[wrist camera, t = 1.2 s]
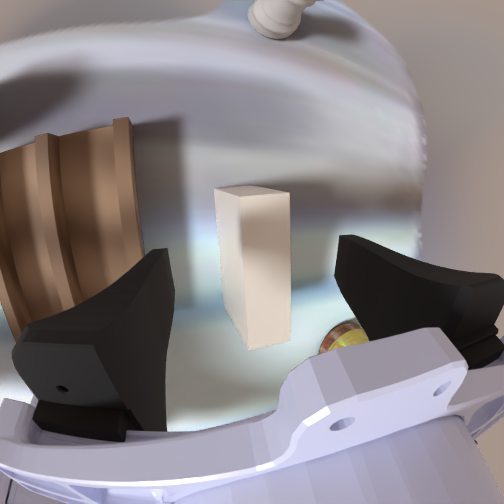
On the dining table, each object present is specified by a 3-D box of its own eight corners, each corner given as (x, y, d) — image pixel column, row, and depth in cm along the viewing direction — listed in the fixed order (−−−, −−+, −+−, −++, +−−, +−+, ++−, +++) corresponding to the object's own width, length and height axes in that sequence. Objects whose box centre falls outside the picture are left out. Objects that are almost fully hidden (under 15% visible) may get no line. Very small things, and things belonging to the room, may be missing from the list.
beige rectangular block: (256, 299, 26) (290, 340, 20) (223, 305, 25) (249, 350, 19) (250, 185, 23) (289, 192, 17) (214, 188, 22) (239, 196, 16)
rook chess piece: (264, 47, 20) (311, 7, 13) (235, 10, 18) (271, -40, 11) (302, 32, 20) (355, -3, 13) (276, -4, 18) (319, -47, 11)
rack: (155, 312, 23) (157, 334, 20) (23, 328, 19) (10, 349, 16) (132, 125, 19) (128, 117, 15) (-13, 159, 15) (-35, 160, 12)
